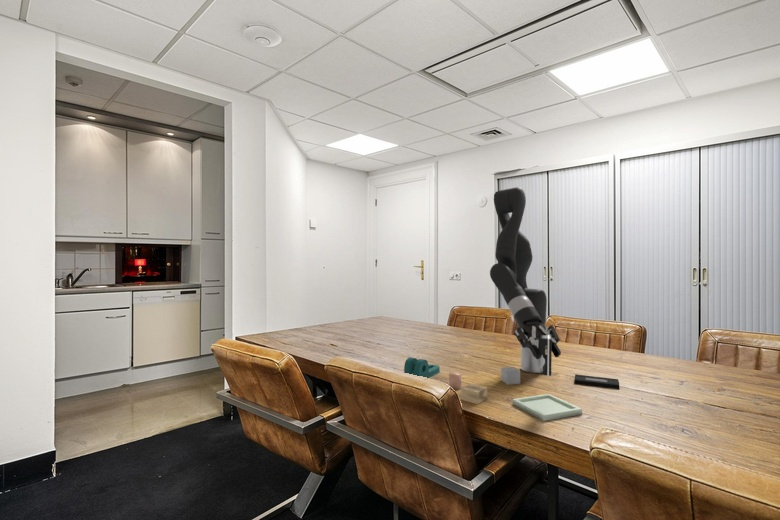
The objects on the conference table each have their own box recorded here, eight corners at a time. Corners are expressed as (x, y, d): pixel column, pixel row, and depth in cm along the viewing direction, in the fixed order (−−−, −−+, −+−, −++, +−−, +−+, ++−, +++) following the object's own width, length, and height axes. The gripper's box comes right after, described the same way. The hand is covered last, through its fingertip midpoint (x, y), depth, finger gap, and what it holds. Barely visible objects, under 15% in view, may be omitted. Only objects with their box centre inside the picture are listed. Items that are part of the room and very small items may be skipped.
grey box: (513, 380, 153) (513, 366, 153) (520, 384, 148) (520, 370, 148) (501, 380, 152) (501, 367, 152) (507, 384, 147) (507, 371, 147)
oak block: (471, 395, 136) (471, 383, 136) (487, 399, 132) (487, 387, 132) (461, 400, 132) (461, 388, 132) (477, 404, 128) (477, 392, 128)
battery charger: (538, 369, 127) (538, 333, 127) (551, 370, 126) (551, 334, 126) (537, 375, 121) (538, 337, 120) (551, 377, 119) (551, 338, 119)
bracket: (419, 382, 151) (419, 361, 151) (404, 379, 155) (404, 359, 154) (442, 371, 165) (442, 352, 165) (428, 368, 169) (428, 350, 169)
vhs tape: (575, 379, 154) (575, 374, 154) (618, 384, 148) (618, 379, 148) (574, 385, 147) (574, 379, 147) (619, 390, 141) (619, 385, 141)
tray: (548, 398, 132) (548, 393, 132) (582, 414, 119) (582, 408, 119) (512, 404, 128) (512, 399, 128) (543, 421, 114) (543, 415, 114)
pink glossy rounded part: (457, 384, 147) (457, 371, 147) (463, 388, 143) (463, 374, 143) (446, 386, 146) (446, 372, 146) (452, 390, 142) (452, 375, 142)
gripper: (510, 306, 128) (535, 352, 117) (547, 304, 133) (574, 348, 121) (500, 320, 133) (523, 365, 122) (536, 318, 138) (561, 361, 127)
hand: (549, 356), depth 122 cm, fingers closed on battery charger, 6 cm apart
